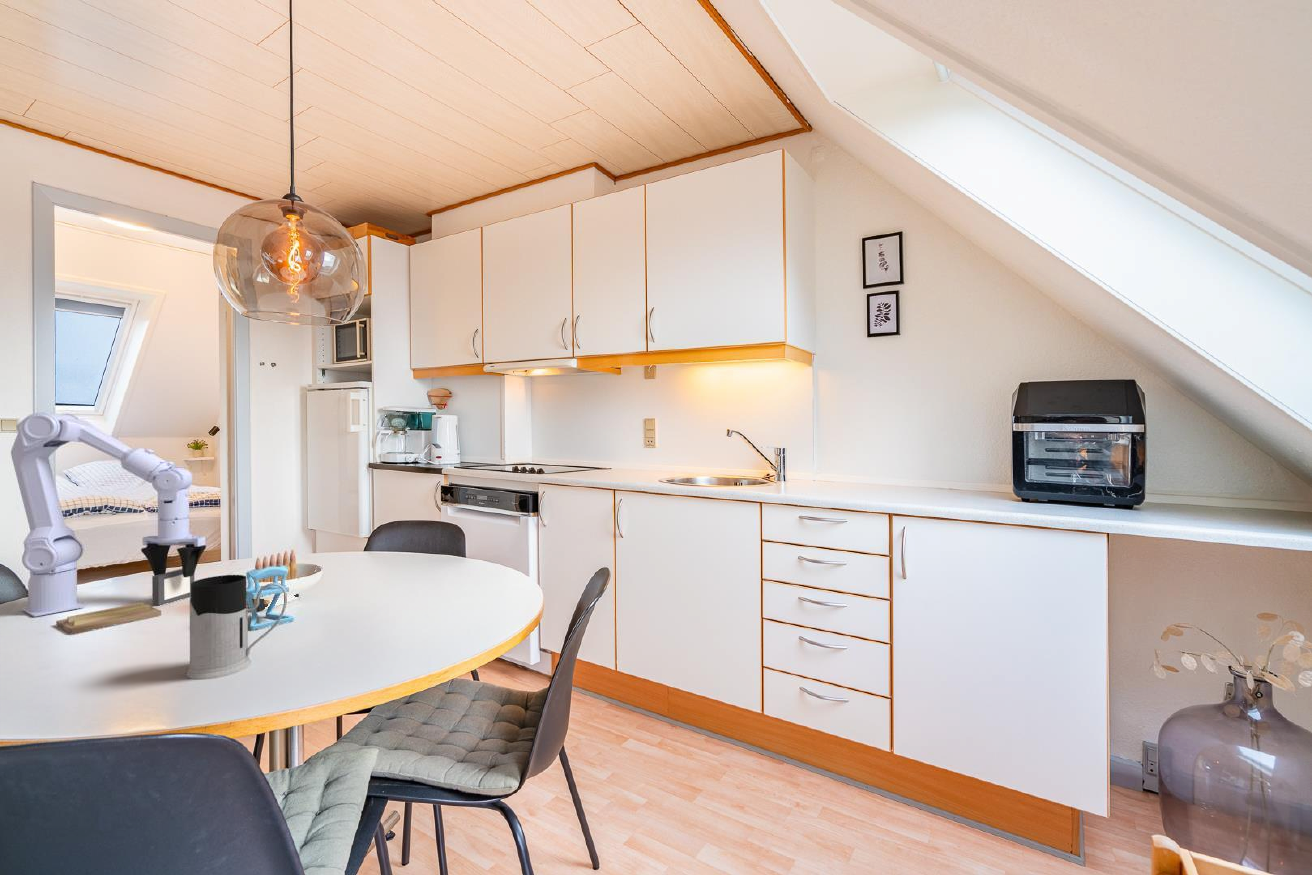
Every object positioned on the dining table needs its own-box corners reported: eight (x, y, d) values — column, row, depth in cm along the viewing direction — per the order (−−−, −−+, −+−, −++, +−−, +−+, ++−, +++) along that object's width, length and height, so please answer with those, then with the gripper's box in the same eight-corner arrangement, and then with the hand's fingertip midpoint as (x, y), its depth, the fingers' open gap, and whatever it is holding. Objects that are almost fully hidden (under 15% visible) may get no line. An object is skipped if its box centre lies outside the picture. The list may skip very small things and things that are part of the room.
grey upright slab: (152, 606, 132) (152, 576, 132) (188, 595, 141) (188, 567, 141) (159, 606, 131) (158, 576, 131) (194, 595, 140) (194, 567, 140)
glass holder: (198, 662, 100) (197, 576, 100) (292, 651, 105) (292, 569, 105) (177, 682, 92) (176, 589, 92) (280, 669, 97) (280, 581, 97)
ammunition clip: (257, 612, 128) (257, 558, 127) (251, 611, 128) (251, 558, 128) (299, 598, 138) (299, 549, 138) (293, 598, 138) (292, 548, 138)
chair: (280, 613, 127) (280, 559, 127) (294, 621, 122) (294, 564, 122) (239, 622, 121) (238, 565, 121) (251, 630, 116) (251, 571, 116)
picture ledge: (56, 625, 118) (56, 615, 118) (143, 607, 130) (143, 599, 130) (72, 634, 113) (72, 624, 113) (161, 615, 125) (161, 606, 125)
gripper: (216, 516, 139) (216, 572, 139) (162, 515, 141) (163, 570, 141) (189, 521, 132) (190, 579, 132) (133, 520, 134) (133, 578, 134)
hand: (174, 575), depth 136 cm, fingers open, 7 cm apart
